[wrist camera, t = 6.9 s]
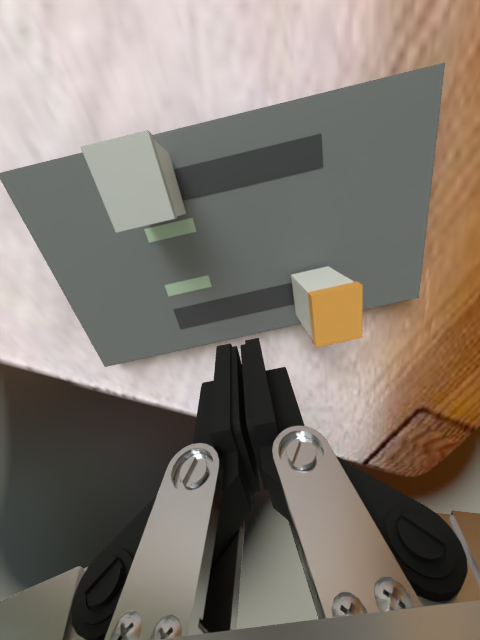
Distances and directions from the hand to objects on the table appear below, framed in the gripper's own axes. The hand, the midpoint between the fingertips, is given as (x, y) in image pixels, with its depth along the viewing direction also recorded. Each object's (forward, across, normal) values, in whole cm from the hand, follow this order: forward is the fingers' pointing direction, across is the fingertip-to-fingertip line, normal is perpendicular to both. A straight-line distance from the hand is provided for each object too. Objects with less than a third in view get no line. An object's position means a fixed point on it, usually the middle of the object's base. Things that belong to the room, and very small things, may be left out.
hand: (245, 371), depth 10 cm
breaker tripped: (+8, -5, +1) cm, 9 cm away
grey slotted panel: (+10, -1, -3) cm, 10 cm away
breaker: (+8, +3, -7) cm, 11 cm away
